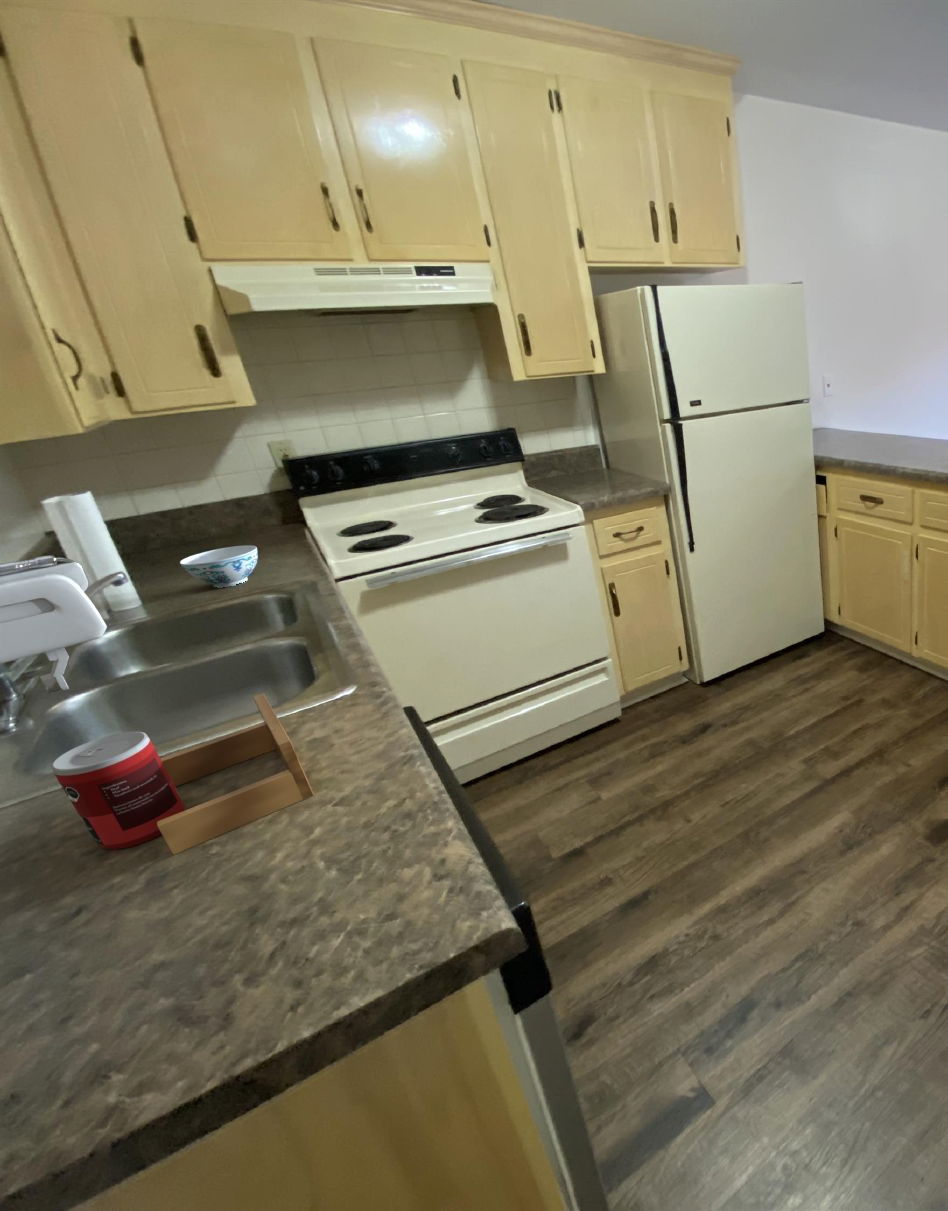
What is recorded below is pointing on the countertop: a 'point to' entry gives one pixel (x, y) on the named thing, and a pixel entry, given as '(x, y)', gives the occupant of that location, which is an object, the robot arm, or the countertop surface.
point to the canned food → (118, 788)
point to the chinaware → (222, 565)
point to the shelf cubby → (239, 803)
